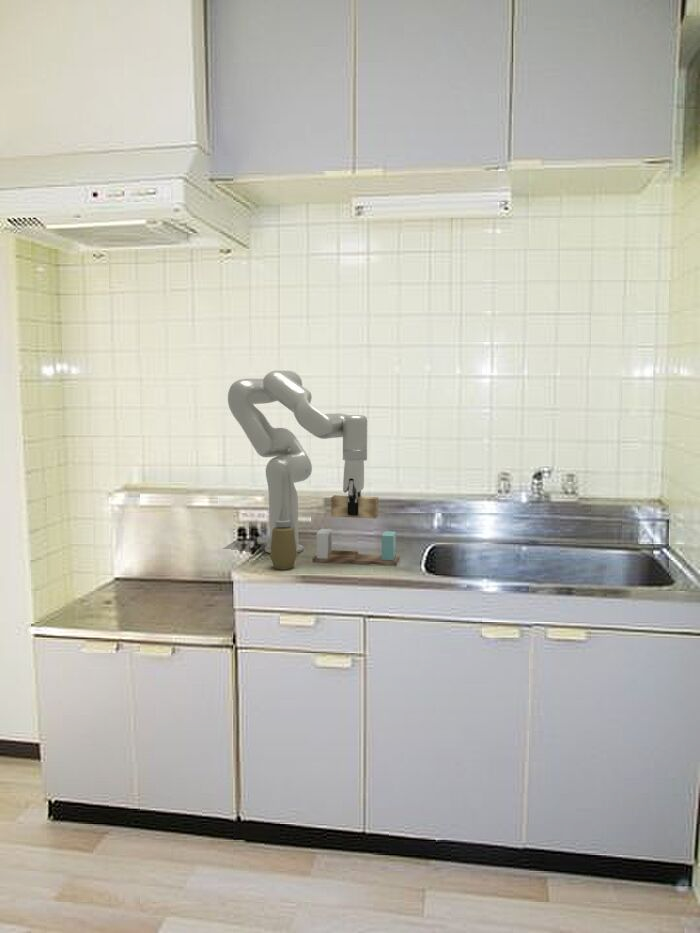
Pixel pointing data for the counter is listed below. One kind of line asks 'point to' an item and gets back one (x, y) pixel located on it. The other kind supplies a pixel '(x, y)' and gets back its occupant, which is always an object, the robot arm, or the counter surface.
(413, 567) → the counter surface
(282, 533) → the squeeze bottle
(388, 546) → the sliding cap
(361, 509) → the light wooden block
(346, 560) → the walnut board
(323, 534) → the grey upright block
